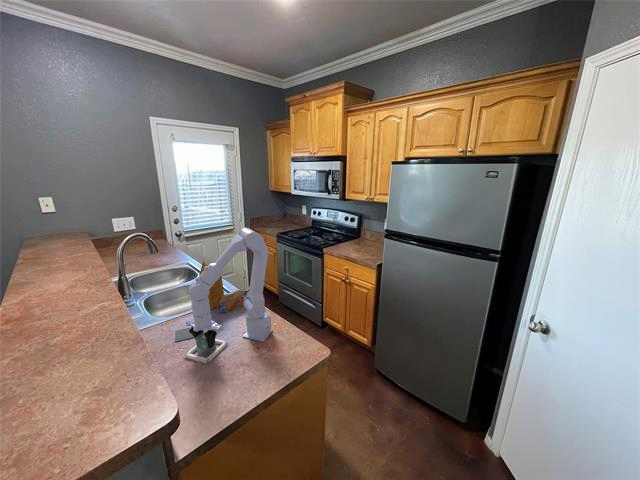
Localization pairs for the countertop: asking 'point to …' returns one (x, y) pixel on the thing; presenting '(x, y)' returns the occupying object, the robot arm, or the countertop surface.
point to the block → (203, 344)
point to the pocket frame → (208, 359)
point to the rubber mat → (187, 333)
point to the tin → (231, 301)
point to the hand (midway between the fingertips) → (206, 345)
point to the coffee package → (214, 289)
